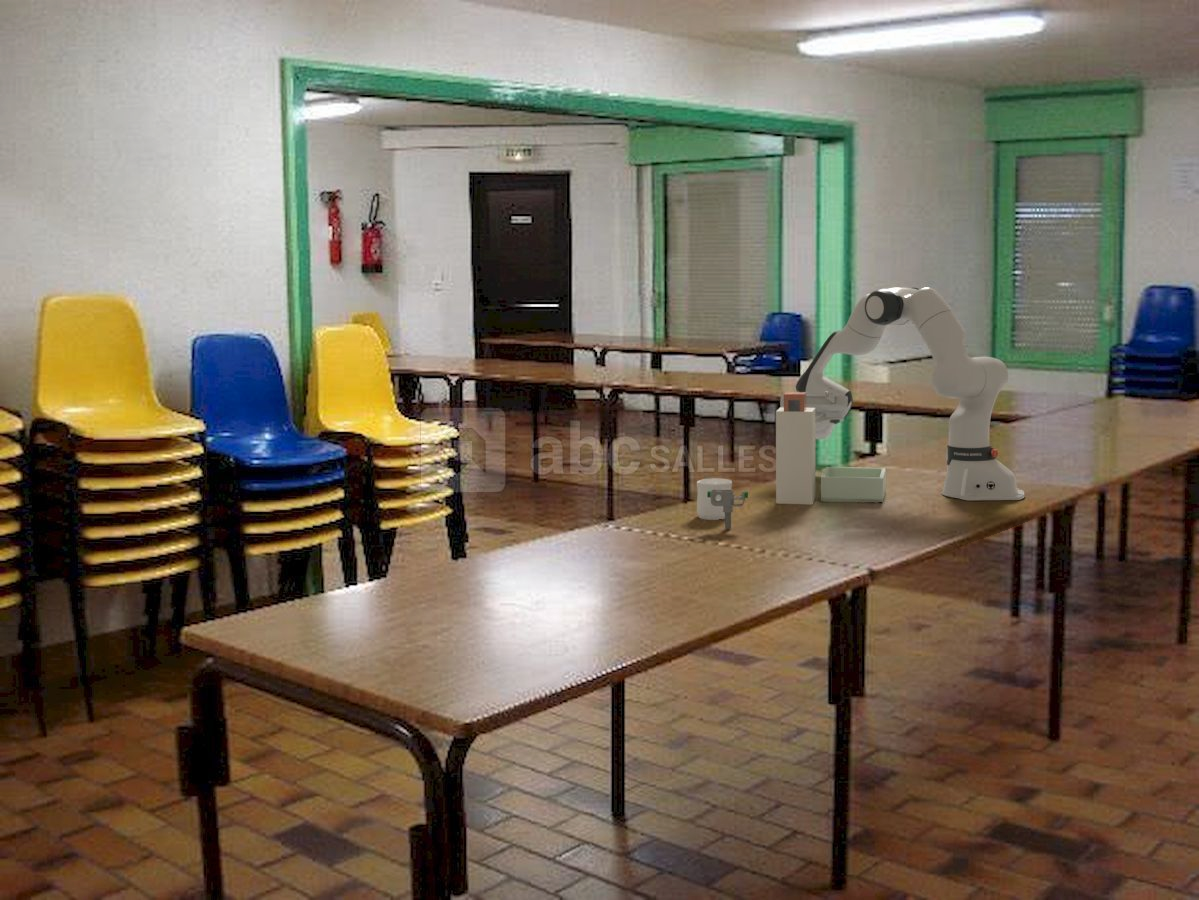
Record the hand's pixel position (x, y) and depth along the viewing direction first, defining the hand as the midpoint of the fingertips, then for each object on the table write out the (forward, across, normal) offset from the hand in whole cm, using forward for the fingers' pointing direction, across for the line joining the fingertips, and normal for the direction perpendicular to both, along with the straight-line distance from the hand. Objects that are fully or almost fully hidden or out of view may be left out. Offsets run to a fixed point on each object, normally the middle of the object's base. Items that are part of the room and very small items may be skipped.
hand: (812, 393), depth 393 cm
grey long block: (+18, -2, +12) cm, 22 cm away
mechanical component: (+43, -14, +57) cm, 73 cm away
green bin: (+2, +14, +32) cm, 35 cm away
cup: (+30, -20, +49) cm, 61 cm away
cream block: (+9, -2, +37) cm, 38 cm away
